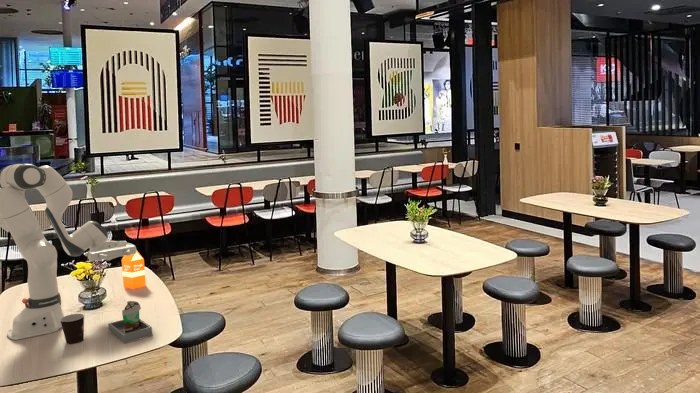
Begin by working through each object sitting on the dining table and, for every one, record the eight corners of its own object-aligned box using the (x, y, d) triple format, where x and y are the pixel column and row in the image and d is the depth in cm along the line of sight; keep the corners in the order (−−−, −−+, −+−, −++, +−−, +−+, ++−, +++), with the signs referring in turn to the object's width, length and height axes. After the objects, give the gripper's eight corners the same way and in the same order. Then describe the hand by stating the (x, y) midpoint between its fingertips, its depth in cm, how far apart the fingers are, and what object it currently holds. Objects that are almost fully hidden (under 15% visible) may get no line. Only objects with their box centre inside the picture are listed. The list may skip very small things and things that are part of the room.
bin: (124, 343, 220) (123, 335, 220) (109, 331, 234) (108, 323, 233) (152, 335, 228) (151, 327, 227) (136, 323, 241) (135, 316, 241)
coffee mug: (77, 345, 220) (74, 322, 219) (58, 345, 222) (55, 321, 220) (95, 334, 231) (93, 311, 230) (77, 333, 233) (74, 310, 231)
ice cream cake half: (140, 332, 229) (137, 309, 227) (124, 334, 228) (121, 310, 226) (144, 321, 241) (142, 299, 239) (129, 323, 240) (127, 300, 238)
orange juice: (136, 284, 300) (133, 247, 298) (146, 285, 295) (143, 248, 293) (123, 287, 293) (120, 250, 292) (132, 288, 288) (130, 250, 287)
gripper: (82, 247, 247) (92, 252, 236) (129, 240, 260) (140, 244, 249) (83, 261, 247) (93, 266, 237) (130, 253, 261) (141, 258, 250)
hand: (117, 255), depth 243 cm, fingers open, 8 cm apart
